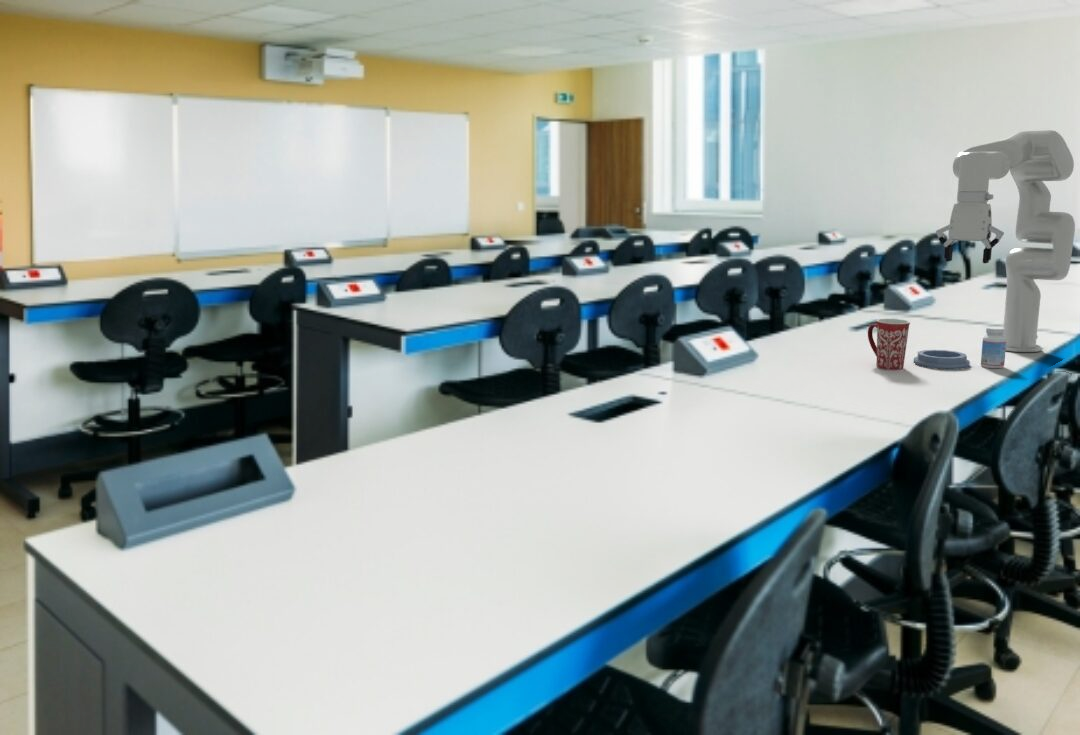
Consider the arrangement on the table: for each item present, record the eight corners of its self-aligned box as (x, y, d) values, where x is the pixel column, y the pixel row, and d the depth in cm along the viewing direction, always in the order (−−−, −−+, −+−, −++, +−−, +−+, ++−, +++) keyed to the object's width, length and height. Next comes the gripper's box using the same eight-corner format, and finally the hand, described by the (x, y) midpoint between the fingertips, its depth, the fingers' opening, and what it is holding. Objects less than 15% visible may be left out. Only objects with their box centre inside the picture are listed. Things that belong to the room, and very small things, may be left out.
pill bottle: (1006, 369, 265) (1010, 329, 263) (983, 368, 266) (986, 329, 264) (1000, 365, 271) (1004, 326, 269) (978, 364, 272) (981, 326, 270)
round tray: (927, 357, 284) (928, 347, 283) (978, 363, 273) (979, 353, 272) (904, 364, 274) (904, 354, 273) (956, 371, 263) (956, 361, 262)
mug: (914, 368, 268) (917, 321, 265) (891, 372, 264) (894, 324, 261) (879, 361, 279) (882, 316, 276) (857, 364, 274) (859, 318, 272)
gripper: (1010, 198, 252) (1004, 262, 256) (943, 198, 263) (939, 259, 267) (1002, 199, 247) (996, 264, 250) (934, 198, 258) (929, 261, 261)
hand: (966, 262), depth 258 cm, fingers open, 9 cm apart
